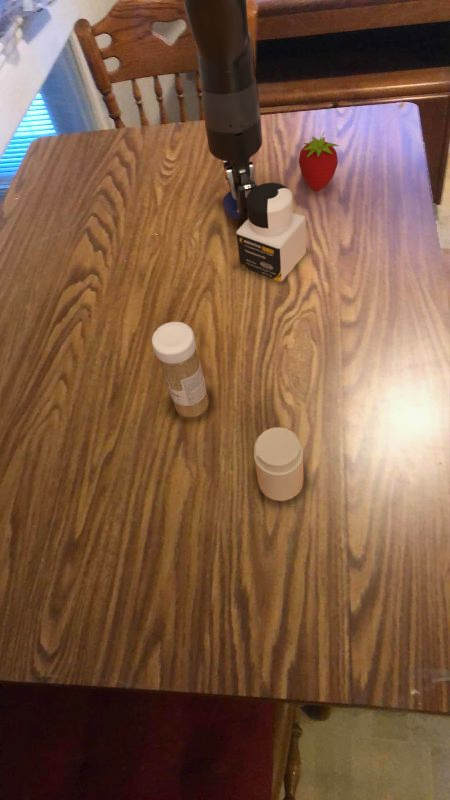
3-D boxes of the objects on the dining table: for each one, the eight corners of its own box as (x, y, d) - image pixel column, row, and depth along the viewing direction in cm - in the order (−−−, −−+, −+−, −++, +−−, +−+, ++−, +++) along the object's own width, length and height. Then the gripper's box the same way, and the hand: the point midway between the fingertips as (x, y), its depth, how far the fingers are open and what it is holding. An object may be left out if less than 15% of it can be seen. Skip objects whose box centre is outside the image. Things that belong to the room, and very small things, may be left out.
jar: (294, 457, 65) (292, 418, 58) (310, 495, 62) (310, 459, 55) (252, 471, 64) (246, 433, 58) (267, 509, 62) (261, 474, 55)
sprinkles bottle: (168, 404, 71) (143, 333, 60) (199, 385, 72) (179, 313, 61) (187, 428, 69) (164, 359, 58) (218, 409, 70) (201, 338, 59)
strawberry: (331, 174, 94) (333, 115, 85) (340, 202, 89) (344, 143, 81) (295, 180, 94) (294, 122, 86) (303, 208, 90) (302, 149, 81)
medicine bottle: (240, 270, 83) (230, 201, 74) (266, 241, 86) (260, 170, 76) (281, 286, 80) (277, 216, 71) (306, 255, 83) (306, 184, 74)
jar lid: (228, 223, 86) (226, 214, 85) (220, 201, 89) (219, 192, 88) (264, 214, 86) (263, 206, 85) (255, 193, 89) (254, 184, 88)
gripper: (195, 94, 80) (212, 197, 93) (215, 150, 71) (230, 253, 85) (247, 82, 80) (256, 187, 94) (272, 136, 72) (278, 242, 85)
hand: (243, 218), depth 89 cm, fingers closed on jar lid, 5 cm apart
